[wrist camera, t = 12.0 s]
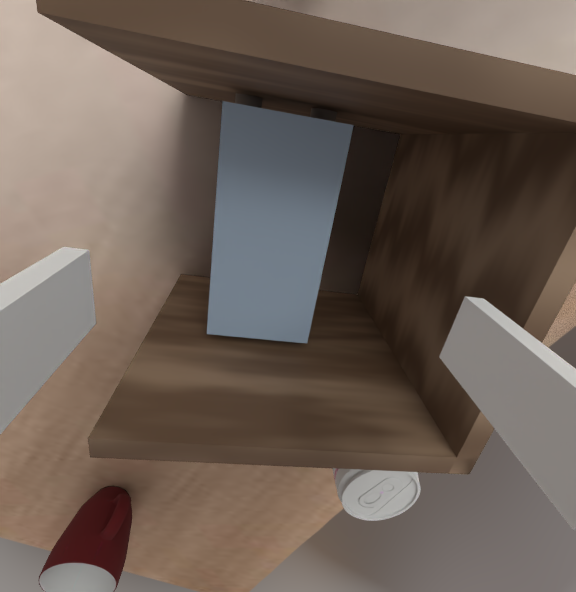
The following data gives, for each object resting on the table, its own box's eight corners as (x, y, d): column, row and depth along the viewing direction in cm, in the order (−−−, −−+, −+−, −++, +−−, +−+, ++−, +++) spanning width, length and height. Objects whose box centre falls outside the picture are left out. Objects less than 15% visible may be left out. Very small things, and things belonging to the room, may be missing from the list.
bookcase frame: (187, 77, 26) (30, -48, 8) (417, 121, 29) (676, 98, 11) (180, 285, 34) (90, 457, 16) (365, 306, 36) (469, 474, 18)
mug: (100, 455, 43) (57, 541, 34) (161, 474, 45) (137, 560, 36) (73, 504, 46) (28, 594, 37) (132, 520, 48) (102, 608, 39)
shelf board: (226, 104, 20) (222, 100, 17) (343, 126, 21) (353, 125, 18) (211, 316, 25) (206, 334, 23) (303, 325, 26) (307, 343, 24)
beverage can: (301, 376, 40) (322, 500, 26) (342, 340, 38) (387, 453, 24) (338, 404, 42) (375, 531, 28) (379, 371, 40) (439, 490, 27)
